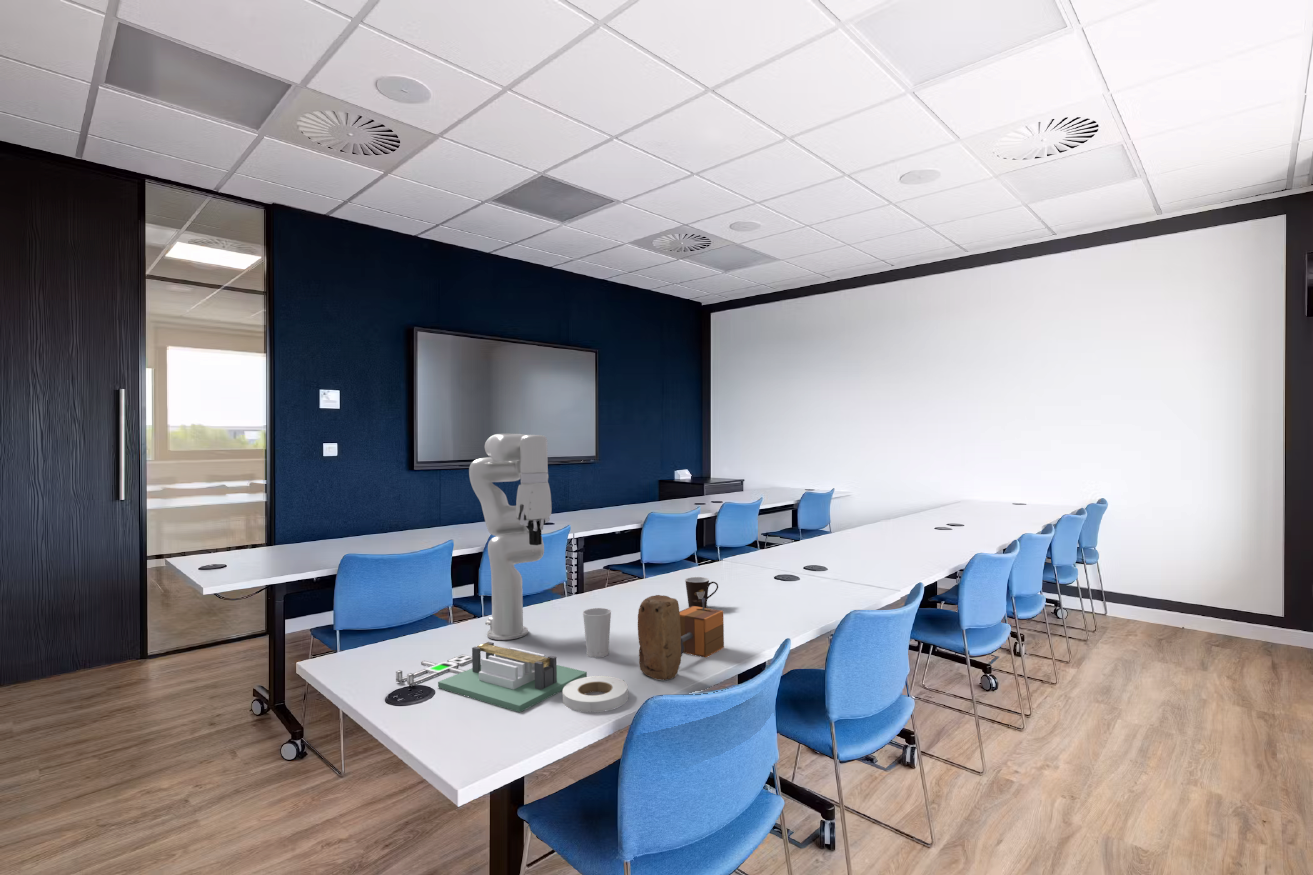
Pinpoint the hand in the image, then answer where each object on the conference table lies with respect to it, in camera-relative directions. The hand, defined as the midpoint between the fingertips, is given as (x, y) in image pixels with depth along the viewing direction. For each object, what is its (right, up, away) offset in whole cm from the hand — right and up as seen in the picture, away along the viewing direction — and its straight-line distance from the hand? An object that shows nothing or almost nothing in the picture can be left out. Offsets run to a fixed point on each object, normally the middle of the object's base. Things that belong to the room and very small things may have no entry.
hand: (535, 544), depth 179 cm
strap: (-3, -26, -17) cm, 31 cm away
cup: (+17, -32, +4) cm, 36 cm away
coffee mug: (+50, -32, +51) cm, 78 cm away
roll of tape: (+20, -32, -28) cm, 47 cm away
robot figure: (-25, -33, -8) cm, 42 cm away
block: (+35, -32, -14) cm, 49 cm away
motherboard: (-2, -32, -17) cm, 37 cm away
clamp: (+44, -32, +2) cm, 54 cm away
